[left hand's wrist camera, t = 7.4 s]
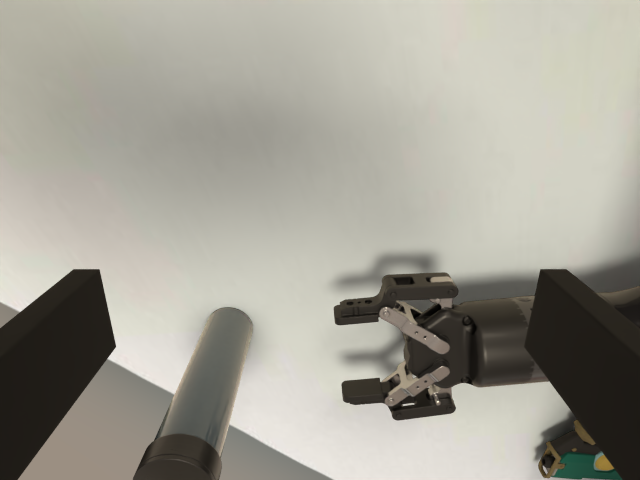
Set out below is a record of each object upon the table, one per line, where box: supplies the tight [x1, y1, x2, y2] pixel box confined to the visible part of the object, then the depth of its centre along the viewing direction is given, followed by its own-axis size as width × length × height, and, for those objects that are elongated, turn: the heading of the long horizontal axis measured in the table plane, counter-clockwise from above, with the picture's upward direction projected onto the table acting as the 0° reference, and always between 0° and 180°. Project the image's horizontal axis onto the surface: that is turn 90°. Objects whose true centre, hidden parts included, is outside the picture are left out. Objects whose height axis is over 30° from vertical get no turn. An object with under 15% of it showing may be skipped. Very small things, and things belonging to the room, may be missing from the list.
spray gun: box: [538, 419, 622, 480], centre depth 49 cm, size 4×17×15 cm
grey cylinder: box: [154, 308, 253, 458], centre depth 36 cm, size 5×5×18 cm
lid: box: [133, 434, 222, 480], centre depth 28 cm, size 5×5×2 cm
